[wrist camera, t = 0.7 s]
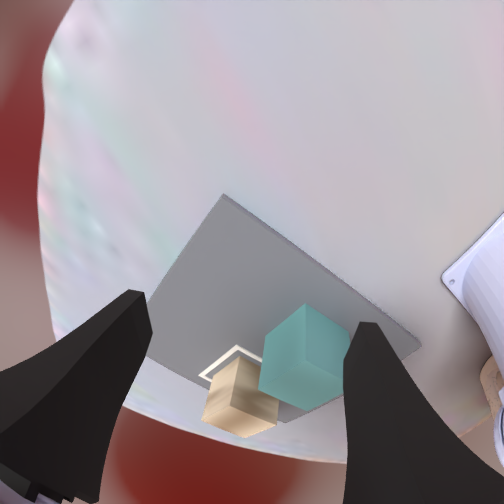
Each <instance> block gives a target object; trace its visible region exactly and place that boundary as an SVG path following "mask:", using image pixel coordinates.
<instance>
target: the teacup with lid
mask: <svg viewBox="0 0 504 504" xmlns="http://www.w3.org/2000/svg"><path fill="white" fill-rule="evenodd" d="M480 381H481V384H482V386H483V389H484V392H485V395H486V398H487V401H488V404H489V407H490V410H491V414H492V417H493V420H494V421H495V417H496V414H497V412H498V410H499V408H500V407H501V406H502V402H501V399H500V397H499V394H498V392H499V391H500V390H501V389H502V388H503V386H504V380H503V377H502V375H501V372H500V370H499V368H498V365H497V363H496V361H495V358H494V356H493V355H492V356H491V357H490V358H489V359H488V360H487V362H486V363H485V365H484V366H483V368H482V370H481V373H480Z"/></svg>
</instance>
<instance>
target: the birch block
mask: <svg viewBox="0 0 504 504" xmlns="http://www.w3.org/2000/svg"><path fill="white" fill-rule="evenodd" d="M260 372H261V367H260V366H258V365H256V364H254V363H253V362H251V361H249V360H247V359H245V358H243V357H241V356H239V357H238V358H236V359H235V360H234V361H232V362H231V363H230V364H228V365H227V366H226V367H224V368H223V369H222V370H220V371H219V372H218V373H216V374H215V375H214V376H213V379H212V382H211V386H210V390H209V394H208V397H207V401H206V405H205V409H204V412H203V416H202V420H201V421H204V422H206V423H208V424H211V425H213V426H215V427H218V428H220V429H223V430H225V431H228V432H230V433H233V434H235V435H238V436H240V437H243V438H246V437H249V436H251V435H254V434H256V433H259V432H261V431H264V430H266V429H269V428H271V427H274V426H276V425H277V417H278V406H279V399H277V398H275V397H273V396H271V395H268V394H266V393H264V392H262V391H260V390H258V386H259V379H260Z"/></svg>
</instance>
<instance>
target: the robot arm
mask: <svg viewBox="0 0 504 504" xmlns="http://www.w3.org/2000/svg"><path fill="white" fill-rule="evenodd" d="M441 279H442V281H443V283H444V284H445V285H446V286H447V287H448V288H449V290H450V291H451V292H452V293H453V294H454V295H455V297H456V298H457V299H458V300H459V301H460V303H461V304H462V305H463V306H464V307H465V309H466V310H467V311H468V312H469V314H470V315H471V316H472V317H473V319H474V320H475V321H476V322H477V324H478V325H479V327H480V329H481V331H482V333H483V335H484V337H485V339H486V341H487V343H488V345H489V347H490V350H491V352H492V354H493V356H494V358H495V361H496V363H497V365H498V368H499V370H500V372H501V375H502V377H503V380H504V213H503V214H502V215H501V216H500V217H499V218H498V220H497V221H496V222H495V223H494V224H493V225H492V226H491V227H490V228H489V229H488V230H487V231H486V232H485V233H484V234H483V235H482V236H481V238H480V239H479V240H478V241H477V242H476V243H475V244H474V245H473V246H472V247H471V248H470V249H469V250H468V251H466V252H465V253H464V254H463V255H462V256H461V257H460V258H459V259H458V260H457V261H456V262H455V263H454V264H453V265H452V266H451V267H450V268H448V269H447V270H446V271H445V272H444V273H443V274H442V278H441ZM450 280H452V281H451V282H450ZM152 335H153V331H152V326H151V322H150V318H149V313H148V309H147V304H146V299H145V294H144V292H140V291H135V290H130V289H128V290H127V291H126V292H124V293H123V294H121V295H120V296H119V297H117V298H116V299H115V300H113V301H112V302H111V303H109V304H108V305H107V306H106V307H104V308H103V309H102V310H100V311H99V312H98V313H96V314H95V315H94V316H92V317H91V318H90V319H89V320H87V321H86V322H85V323H83V324H82V325H81V326H79V327H78V328H76V329H75V330H73V331H72V332H71V333H69V334H68V335H66V336H65V337H63V338H62V339H61V340H59V341H58V342H56V343H55V344H53V345H51V346H50V347H48V348H47V349H45V350H43V351H41V352H40V353H38V354H36V355H35V356H33V357H31V358H29V359H27V360H25V361H23V362H21V363H19V364H17V365H15V366H12V367H11V368H8V369H6V370H3V371H1V372H0V504H61V503H62V500H63V499H65V500H67V501H69V502H71V503H72V502H73V500H74V497H77V498H79V499H81V500H83V501H85V502H87V503H89V504H93V503H96V502H98V501H99V493H100V486H101V479H102V473H103V468H104V463H105V459H106V454H107V450H108V447H109V443H110V439H111V435H112V432H113V429H114V426H115V422H116V419H117V416H118V414H119V411H120V409H121V406H122V404H123V402H124V400H125V398H126V396H127V394H128V392H129V389H130V387H131V385H132V383H133V381H134V379H135V377H136V375H137V373H138V371H139V369H140V367H141V365H142V363H143V360H144V358H145V356H146V353H147V350H148V347H149V344H150V341H151V338H152ZM343 394H344V405H345V416H346V428H347V442H348V457H347V471H346V482H345V491H344V499H343V504H504V477H503V476H502V475H501V474H499V473H498V472H496V471H495V470H494V469H493V468H491V467H490V466H488V465H487V464H486V463H485V462H484V461H482V460H481V459H480V458H479V457H478V456H477V455H476V454H474V453H473V452H472V451H471V450H470V449H469V448H468V447H467V446H466V445H465V444H464V443H463V442H462V441H461V440H460V439H459V438H458V437H457V436H456V435H455V434H454V433H453V432H452V431H451V429H450V428H449V427H448V426H447V425H446V424H445V423H444V421H443V420H442V419H441V418H440V416H439V415H438V414H437V413H436V411H435V410H434V409H433V408H432V406H431V405H430V404H429V403H428V401H427V400H426V398H425V397H424V396H423V394H422V393H421V391H420V390H419V389H418V387H417V386H416V384H415V383H414V381H413V380H412V378H411V377H410V375H409V373H408V372H407V370H406V369H405V367H404V366H403V364H402V363H401V361H400V359H399V358H398V356H397V354H396V353H395V351H394V350H393V348H392V346H391V345H390V343H389V341H388V340H387V338H386V336H385V335H384V333H383V332H382V330H381V328H380V327H379V325H378V324H377V323H374V322H362V321H360V322H359V325H358V327H357V329H356V332H355V334H354V337H353V339H352V342H351V344H350V346H349V349H348V351H347V353H346V355H345V358H344V360H343ZM498 394H499V397H500V399H501V402H502V406H501V407H500V408H499V410H498V412H497V414H496V417H495V421H494V445H495V450H496V453H497V456H498V459H499V461H500V463H501V464H502V466H503V467H504V386H503V388H502V389H501V390H500V391H499V392H498Z"/></svg>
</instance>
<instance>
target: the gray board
mask: <svg viewBox="0 0 504 504" xmlns="http://www.w3.org/2000/svg"><path fill="white" fill-rule="evenodd" d="M305 303H306V304H307V305H309V306H310V307H312V308H313V309H315V310H317V311H318V312H320V313H321V314H323V315H324V316H326V317H327V318H329V319H330V320H332V321H333V322H335V323H336V324H338V325H339V326H341V327H342V328H344V329H345V330H347V331H348V332H349V338H350V344H351V342H352V339H353V337H354V334H355V332H356V329H357V327H358V325H359V322H360V321H362V322H374V323H377V324H378V325H379V327H380V328H381V330H382V332H383V333H384V335H385V336H386V338H387V340H388V341H389V343H390V345H391V346H392V348H393V350H394V351H395V353H396V354H397V356H398V358H399V359H400V361H401V360H402V359H404V358H405V357H407V356H408V355H410V354H411V353H413V352H414V351H416V350H417V349H419V348H420V347H421V343H420V341H419V340H418V339H416V338H415V337H414V336H413V335H411V334H410V333H409V332H408V331H406V330H405V329H404V328H403V327H401V326H400V325H399V324H398V323H396V322H395V321H394V320H393V319H391V318H390V317H389V316H387V315H386V314H385V313H384V312H382V311H381V310H380V309H379V308H377V307H376V306H375V305H373V304H372V303H371V302H370V301H368V300H367V299H366V298H364V297H363V296H362V295H361V294H359V293H358V292H357V291H355V290H354V289H353V288H351V287H350V286H349V285H347V284H346V283H345V282H344V281H342V280H341V279H340V278H338V277H337V276H336V275H334V274H333V273H332V272H330V271H329V270H328V269H326V268H325V267H324V266H322V265H321V264H320V263H318V262H317V261H316V260H314V259H313V258H312V257H310V256H309V255H308V254H306V253H305V252H304V251H302V250H301V249H300V248H298V247H297V246H296V245H294V244H293V243H291V242H290V241H289V240H287V239H286V238H285V237H283V236H282V235H281V234H279V233H278V232H276V231H275V230H274V229H272V228H271V227H270V226H268V225H267V224H265V223H264V222H263V221H261V220H260V219H258V218H257V217H256V216H254V215H253V214H252V213H250V212H249V211H247V210H246V209H245V208H243V207H242V206H240V205H239V204H238V203H236V202H235V201H233V200H232V199H230V198H229V197H228V196H226V195H225V194H223V195H222V196H221V197H220V199H219V200H218V201H217V203H216V204H215V205H214V207H213V208H212V210H211V211H210V212H209V214H208V215H207V216H206V218H205V219H204V221H203V222H202V223H201V225H200V226H199V228H198V229H197V230H196V232H195V233H194V235H193V236H192V238H191V239H190V240H189V242H188V243H187V245H186V246H185V248H184V249H183V250H182V252H181V253H180V255H179V256H178V258H177V259H176V261H175V262H174V264H173V265H172V266H171V268H170V269H169V271H168V272H167V274H166V275H165V277H164V278H163V280H162V281H161V283H160V284H159V286H158V287H157V289H156V290H155V292H154V293H153V295H152V297H151V298H150V300H149V301H148V303H147V309H148V313H149V318H150V322H151V326H152V331H153V335H152V338H151V341H150V344H149V347H148V350H147V353H146V356H147V357H149V358H150V359H152V360H154V361H156V362H157V363H159V364H161V365H163V366H164V367H166V368H168V369H170V370H171V371H173V372H175V373H177V374H179V375H181V376H183V377H184V378H186V379H188V380H190V381H192V382H194V383H196V384H198V385H200V386H202V387H204V388H206V389H208V390H210V386H211V382H212V379H213V376H214V375H215V374H216V373H218V372H219V371H220V370H222V369H223V368H224V367H226V366H227V365H228V364H230V363H231V362H232V361H234V360H235V359H236V358H238V357H239V356H241V357H243V358H245V359H247V360H249V361H251V362H253V363H254V364H256V365H258V366H260V367H261V365H262V358H263V350H264V343H265V336H266V335H267V334H268V333H270V332H271V331H272V330H273V329H275V328H276V327H277V326H278V325H280V324H281V323H282V322H283V321H284V320H286V319H287V318H288V317H289V316H290V315H292V314H293V313H294V312H295V311H296V310H298V309H299V308H300V307H301V306H302V305H304V304H305ZM342 395H344V394H343V393H342V394H340V395H338V396H337V397H335V398H333V399H331V400H329V401H327V402H325V403H323V404H321V405H319V406H317V407H315V408H313V409H311V410H309V411H305V410H303V409H300V408H298V407H296V406H293V405H291V404H289V403H286V402H284V401H282V400H279V406H278V417H277V420H278V421H281V422H283V423H287V422H289V421H291V420H294V419H296V418H298V417H300V416H302V415H305V414H307V413H309V412H311V411H313V410H315V409H317V408H319V407H321V406H323V405H325V404H327V403H329V402H331V401H333V400H335V399H337V398H339V397H340V396H342Z"/></svg>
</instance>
